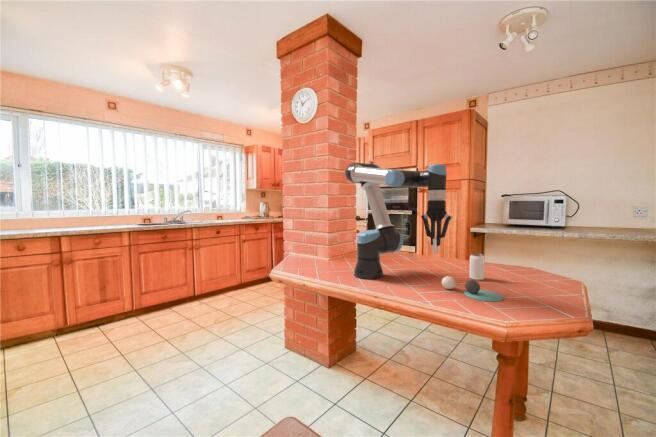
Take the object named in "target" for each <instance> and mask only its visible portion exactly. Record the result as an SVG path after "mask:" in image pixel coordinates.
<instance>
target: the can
mask: <svg viewBox="0 0 656 437" xmlns="http://www.w3.org/2000/svg"><path fill="white" fill-rule="evenodd" d="M485 264H486V260H485V256H484V254H483V253H482V254H481V253H471V254H470V256H469V278H470V280H474V281H483V280H484V279H485V267H486V266H485Z"/></svg>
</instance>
